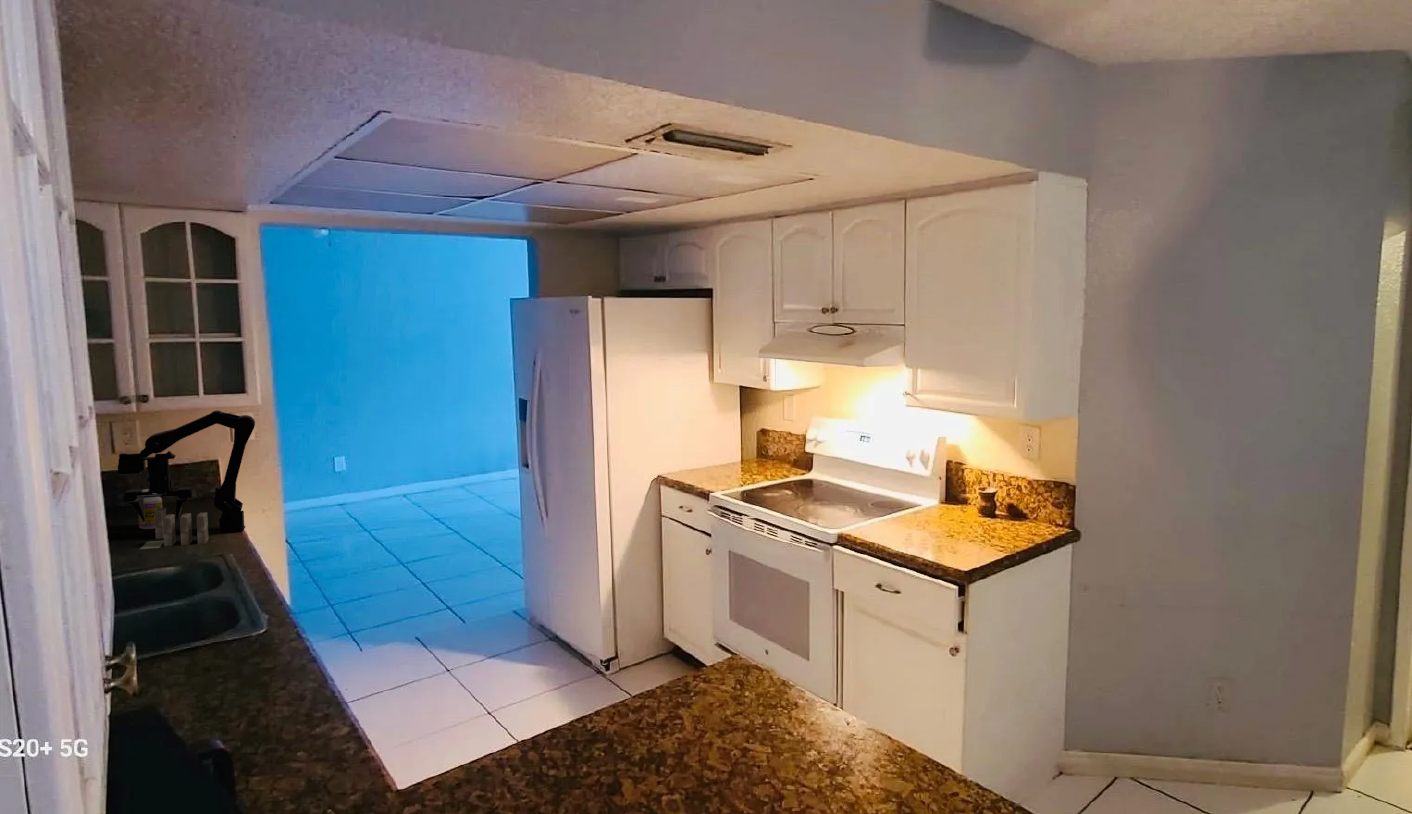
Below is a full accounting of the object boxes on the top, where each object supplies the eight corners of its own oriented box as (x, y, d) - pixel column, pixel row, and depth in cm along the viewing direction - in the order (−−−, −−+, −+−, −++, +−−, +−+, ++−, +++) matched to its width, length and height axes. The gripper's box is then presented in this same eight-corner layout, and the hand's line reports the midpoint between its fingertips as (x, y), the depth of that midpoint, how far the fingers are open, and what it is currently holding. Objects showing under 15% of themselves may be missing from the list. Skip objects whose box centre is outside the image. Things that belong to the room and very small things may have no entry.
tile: (167, 534, 258) (165, 507, 258) (163, 538, 254) (161, 511, 253) (159, 534, 258) (158, 508, 257) (155, 539, 253) (154, 511, 252)
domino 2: (192, 540, 253) (190, 513, 252) (188, 544, 248) (187, 517, 247) (184, 541, 252) (183, 513, 251) (181, 545, 247) (179, 517, 246)
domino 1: (175, 541, 251) (174, 514, 250) (171, 545, 246) (170, 518, 245) (168, 542, 250) (166, 514, 249) (164, 546, 246) (162, 518, 245)
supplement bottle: (143, 530, 262) (141, 493, 260) (136, 527, 266) (134, 490, 264) (166, 527, 267) (164, 490, 266) (159, 523, 271) (157, 487, 270)
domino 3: (208, 539, 254) (207, 512, 253) (205, 543, 250) (203, 516, 249) (201, 539, 254) (200, 512, 253) (197, 544, 249) (196, 516, 248)
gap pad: (165, 541, 251) (165, 540, 251) (159, 547, 244) (159, 547, 244) (147, 542, 249) (147, 541, 249) (139, 549, 242) (139, 548, 242)
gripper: (197, 466, 264) (199, 511, 266) (131, 469, 257) (134, 515, 259) (190, 473, 254) (192, 520, 256) (120, 476, 247) (123, 524, 249)
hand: (161, 519), depth 255 cm, fingers open, 9 cm apart
